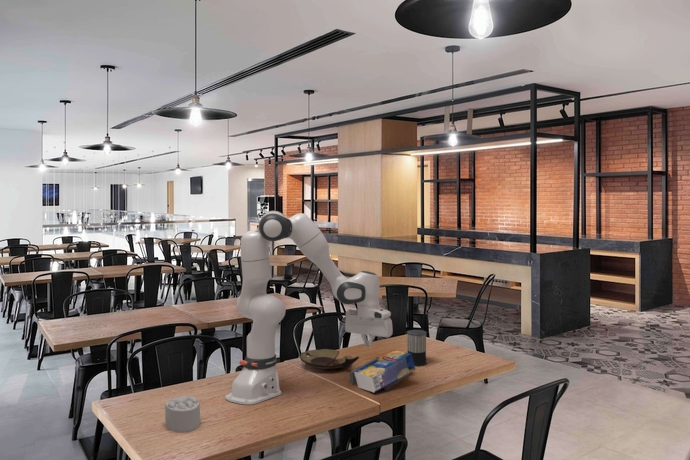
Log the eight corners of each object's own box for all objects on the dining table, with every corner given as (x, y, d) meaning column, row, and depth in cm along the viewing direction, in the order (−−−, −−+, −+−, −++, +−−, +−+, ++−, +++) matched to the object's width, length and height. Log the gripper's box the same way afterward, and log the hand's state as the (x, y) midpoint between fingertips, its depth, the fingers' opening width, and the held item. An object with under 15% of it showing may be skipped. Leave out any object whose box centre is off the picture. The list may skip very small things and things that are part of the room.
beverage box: (358, 387, 219) (398, 365, 231) (374, 392, 210) (415, 369, 222) (353, 371, 218) (394, 350, 230) (370, 376, 209) (411, 353, 221)
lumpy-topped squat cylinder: (192, 415, 191) (192, 391, 190) (205, 427, 180) (205, 402, 180) (162, 422, 185) (162, 397, 185) (173, 435, 174) (173, 408, 174)
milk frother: (430, 365, 249) (430, 333, 248) (399, 369, 243) (399, 336, 243) (415, 357, 262) (415, 326, 262) (386, 360, 257) (386, 329, 256)
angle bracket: (387, 390, 215) (387, 378, 215) (349, 383, 223) (349, 371, 223) (411, 373, 237) (411, 362, 236) (376, 367, 245) (376, 356, 245)
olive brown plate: (331, 356, 264) (331, 341, 264) (367, 372, 239) (367, 355, 239) (290, 364, 252) (290, 347, 252) (323, 381, 227) (323, 363, 227)
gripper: (342, 310, 221) (341, 343, 221) (387, 315, 211) (387, 350, 211) (349, 307, 226) (349, 340, 227) (394, 312, 216) (394, 347, 217)
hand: (368, 345), depth 219 cm, fingers closed
